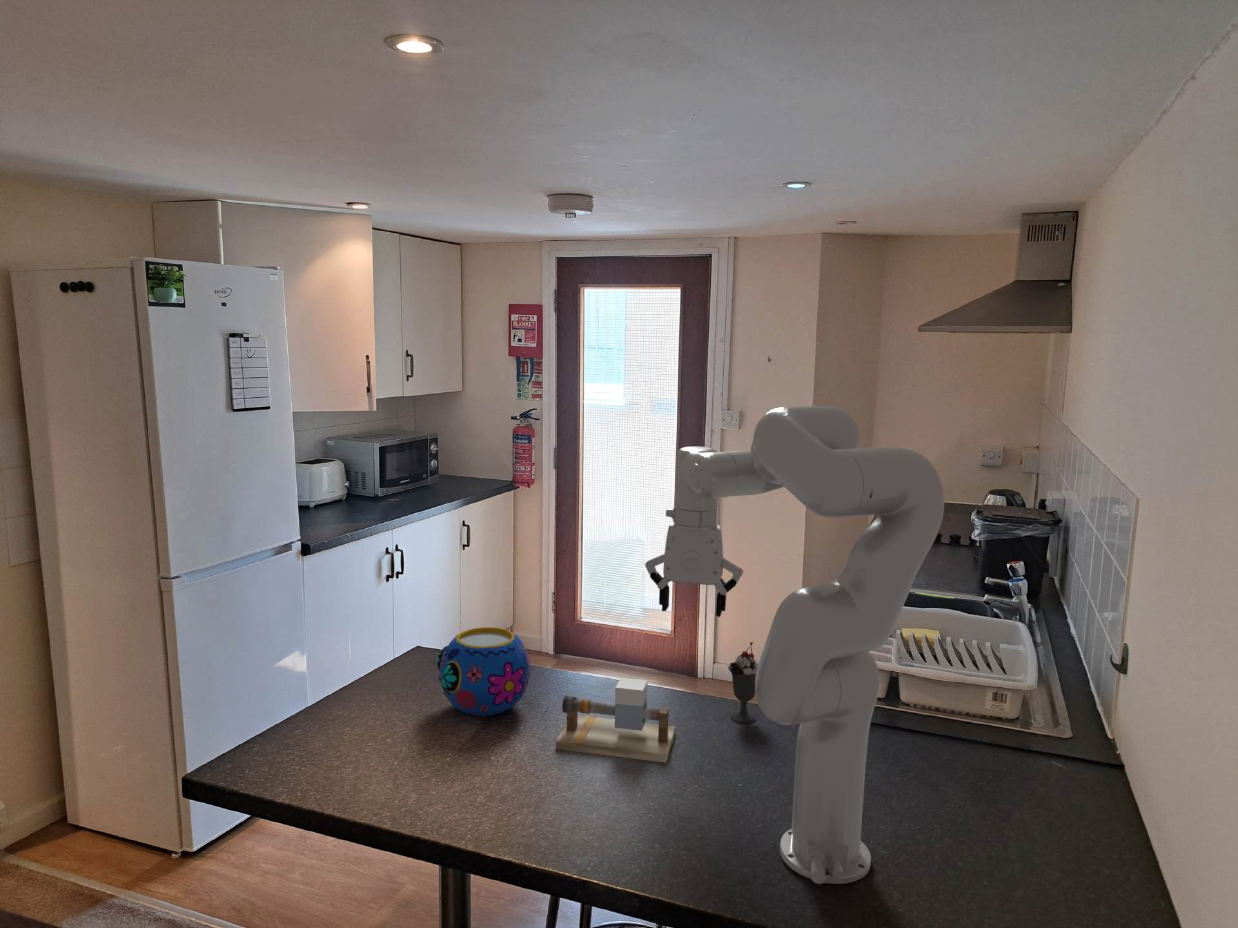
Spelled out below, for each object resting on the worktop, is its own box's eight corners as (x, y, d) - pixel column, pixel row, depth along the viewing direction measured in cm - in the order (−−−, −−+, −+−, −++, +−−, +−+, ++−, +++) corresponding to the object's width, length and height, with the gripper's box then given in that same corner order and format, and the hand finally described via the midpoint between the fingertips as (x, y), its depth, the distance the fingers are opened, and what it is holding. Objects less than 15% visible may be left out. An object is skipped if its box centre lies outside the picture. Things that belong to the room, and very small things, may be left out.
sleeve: (641, 730, 146) (643, 690, 145) (614, 727, 147) (615, 687, 146) (646, 719, 150) (647, 680, 149) (619, 716, 151) (620, 677, 150)
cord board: (666, 762, 142) (667, 721, 141) (555, 748, 146) (556, 709, 145) (675, 733, 153) (676, 695, 152) (571, 721, 157) (572, 684, 156)
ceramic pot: (435, 695, 167) (434, 625, 165) (521, 686, 173) (521, 618, 171) (443, 734, 151) (442, 657, 149) (538, 723, 156) (539, 648, 154)
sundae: (759, 711, 163) (762, 639, 161) (761, 726, 157) (765, 651, 155) (725, 709, 164) (728, 637, 162) (726, 724, 157) (729, 649, 155)
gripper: (642, 518, 142) (639, 613, 144) (743, 525, 138) (738, 623, 140) (651, 510, 149) (648, 600, 151) (747, 516, 145) (742, 610, 147)
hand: (691, 611), depth 146 cm, fingers open, 9 cm apart
